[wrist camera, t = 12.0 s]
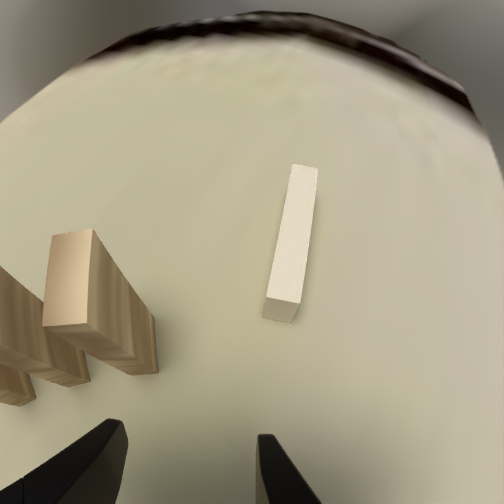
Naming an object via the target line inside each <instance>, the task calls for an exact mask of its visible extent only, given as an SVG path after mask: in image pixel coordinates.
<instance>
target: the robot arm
mask: <svg viewBox="0 0 504 504" xmlns="http://www.w3.org/2000/svg"><path fill="white" fill-rule="evenodd" d="M127 450H128V438H127V434H126V431H125V427H124V424H123V422H122V421H120V420H116V419H110V418H109V419H106V420H105V421H104V422H102V423H101V424H99V425H98V426H97V427H95V428H94V429H92V430H91V431H90V432H88V433H87V434H85V435H84V436H82V437H81V438H80V439H78V440H77V441H75V442H74V443H72V444H71V445H70V446H68V447H67V448H65V449H64V450H62V451H61V452H59V453H58V454H57V455H55V456H54V457H52V458H51V459H49V460H48V461H46V462H45V463H43V464H42V465H40V466H39V467H37V468H36V469H34V470H33V471H31V472H30V473H28V474H27V475H25V476H24V477H23V478H20V479H19V480H17V481H16V482H14V483H13V484H11V485H9V486H7V487H6V488H4V489H2V490H1V491H0V504H115V502H116V499H117V496H118V493H119V489H120V485H121V480H122V475H123V469H124V464H125V459H126V454H127ZM256 504H322V503H321V501H320V500H319V499H318V497H317V496H316V495H315V493H314V492H313V491H312V489H311V488H310V486H309V485H308V484H307V482H306V481H305V479H304V478H303V477H302V475H301V474H300V472H299V471H298V470H297V468H296V467H295V465H294V464H293V462H292V461H291V460H290V458H289V457H288V455H287V454H286V452H285V451H284V449H283V448H282V446H281V445H280V443H279V442H278V440H277V439H276V437H275V436H274V435H273V434H259V435H258V436H257V447H256Z"/></svg>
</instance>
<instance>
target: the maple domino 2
mask: <svg viewBox="0 0 504 504" xmlns="http://www.w3.org/2000/svg"><path fill="white" fill-rule="evenodd" d="M43 306H44V302H42V301H41V300H40V299H39V298H37V297H36V296H35V295H34V294H32V293H31V292H30V291H29V290H28V289H26V288H25V287H24V286H23V285H22V284H20V283H19V282H18V281H17V280H16V279H14V278H13V277H12V276H11V275H10V274H9V273H8V272H6V271H5V270H4V269H3V268H2V267H1V266H0V363H1V364H3V365H6V366H8V367H11V368H13V369H16V370H19V371H21V372H24V373H27V374H29V375H32V376H35V377H38V378H41V379H44V380H47V381H50V382H53V383H56V384H59V385H63V386H66V387H69V386H74V385H78V384H82V383H86V382H90V378H89V373H88V369H87V364H86V360H85V355H84V351H83V350H81V349H79V348H77V347H75V346H74V345H72V344H70V343H69V342H67V341H65V340H63V339H62V338H60V337H58V336H57V335H55V334H53V333H52V332H50V331H49V330H47V329H45V328H44V327H42V321H43Z"/></svg>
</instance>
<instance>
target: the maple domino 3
mask: <svg viewBox="0 0 504 504" xmlns="http://www.w3.org/2000/svg"><path fill="white" fill-rule="evenodd" d="M42 327H44V328H45V329H47V330H49V331H50V332H52V333H53V334H55V335H57V336H58V337H60V338H62V339H63V340H65V341H67V342H69V343H70V344H72V345H74V346H75V347H77V348H79V349H81V350H83V351H84V352H86V353H88V354H90V355H92V356H94V357H95V358H97V359H99V360H101V361H103V362H105V363H107V364H109V365H111V366H113V367H115V368H117V369H119V370H121V371H123V372H125V373H127V374H129V375H141V374H153V373H158V363H157V353H156V342H155V329H154V317H153V315H152V314H151V313H150V311H149V310H148V309H147V307H146V306H145V305H144V303H143V302H142V301H141V299H140V298H139V296H138V295H137V294H136V292H135V291H134V289H133V288H132V287H131V285H130V284H129V282H128V281H127V279H126V278H125V277H124V275H123V274H122V272H121V271H120V269H119V268H118V266H117V265H116V263H115V262H114V260H113V259H112V257H111V256H110V254H109V253H108V251H107V250H106V248H105V247H104V245H103V244H102V242H101V240H100V239H99V237H98V236H97V234H96V233H95V231H94V229H93V228H91V229H86V230H80V231H75V232H69V233H64V234H58V235H53V236H52V242H51V248H50V254H49V261H48V268H47V276H46V285H45V295H44V306H43V321H42Z"/></svg>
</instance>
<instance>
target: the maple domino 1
mask: <svg viewBox="0 0 504 504" xmlns="http://www.w3.org/2000/svg"><path fill="white" fill-rule="evenodd" d="M35 398H36V396H35V393H34V390H33V387H32V384H31V381H30V378H29V375H28V374H27V373H24V372H21V371H19V370H16V369H13V368H11V367H8V366H6V365H3V364H1V363H0V402H1V403H5V404H10V405H15V406H21V405H23V404H25V403H27V402H29V401H31V400H33V399H35Z"/></svg>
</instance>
